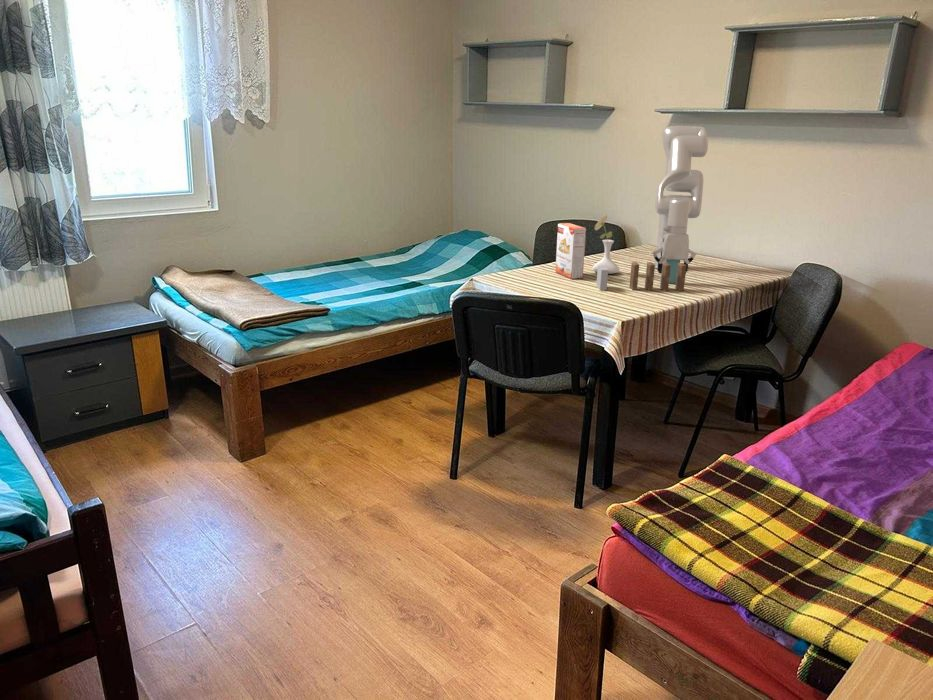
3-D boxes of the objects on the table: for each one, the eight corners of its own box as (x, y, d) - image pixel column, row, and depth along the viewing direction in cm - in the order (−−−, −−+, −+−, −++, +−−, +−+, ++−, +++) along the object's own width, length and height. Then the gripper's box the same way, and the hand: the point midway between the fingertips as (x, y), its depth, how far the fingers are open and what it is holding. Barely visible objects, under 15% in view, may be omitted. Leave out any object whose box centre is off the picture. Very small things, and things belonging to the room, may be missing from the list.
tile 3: (647, 290, 275) (650, 264, 272) (644, 287, 280) (647, 262, 276) (652, 290, 275) (655, 265, 272) (649, 287, 280) (651, 262, 276)
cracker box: (554, 272, 303) (557, 223, 296) (567, 271, 305) (570, 222, 298) (570, 279, 291) (573, 228, 284) (583, 278, 293) (586, 227, 286)
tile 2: (663, 290, 275) (666, 265, 272) (659, 287, 280) (662, 262, 276) (668, 290, 275) (670, 265, 272) (664, 287, 280) (667, 262, 276)
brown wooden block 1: (632, 290, 275) (634, 264, 272) (629, 287, 279) (631, 262, 276) (636, 290, 275) (639, 264, 272) (633, 287, 280) (636, 262, 276)
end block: (596, 285, 281) (597, 265, 278) (602, 285, 281) (604, 265, 278) (599, 290, 273) (601, 270, 271) (606, 290, 273) (608, 270, 271)
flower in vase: (605, 269, 312) (610, 211, 304) (624, 274, 303) (630, 214, 295) (583, 272, 305) (587, 213, 297) (602, 277, 296) (607, 216, 288)
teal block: (664, 282, 290) (666, 257, 286) (676, 282, 290) (679, 257, 286) (665, 283, 288) (667, 258, 285) (677, 283, 288) (680, 258, 285)
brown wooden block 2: (678, 291, 275) (681, 265, 272) (675, 288, 280) (678, 262, 276) (683, 291, 275) (686, 265, 272) (679, 288, 280) (682, 262, 277)
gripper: (657, 231, 278) (652, 274, 283) (701, 232, 278) (696, 275, 284) (652, 228, 285) (648, 271, 291) (695, 229, 286) (690, 271, 291)
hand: (672, 273), depth 287 cm, fingers open, 9 cm apart
